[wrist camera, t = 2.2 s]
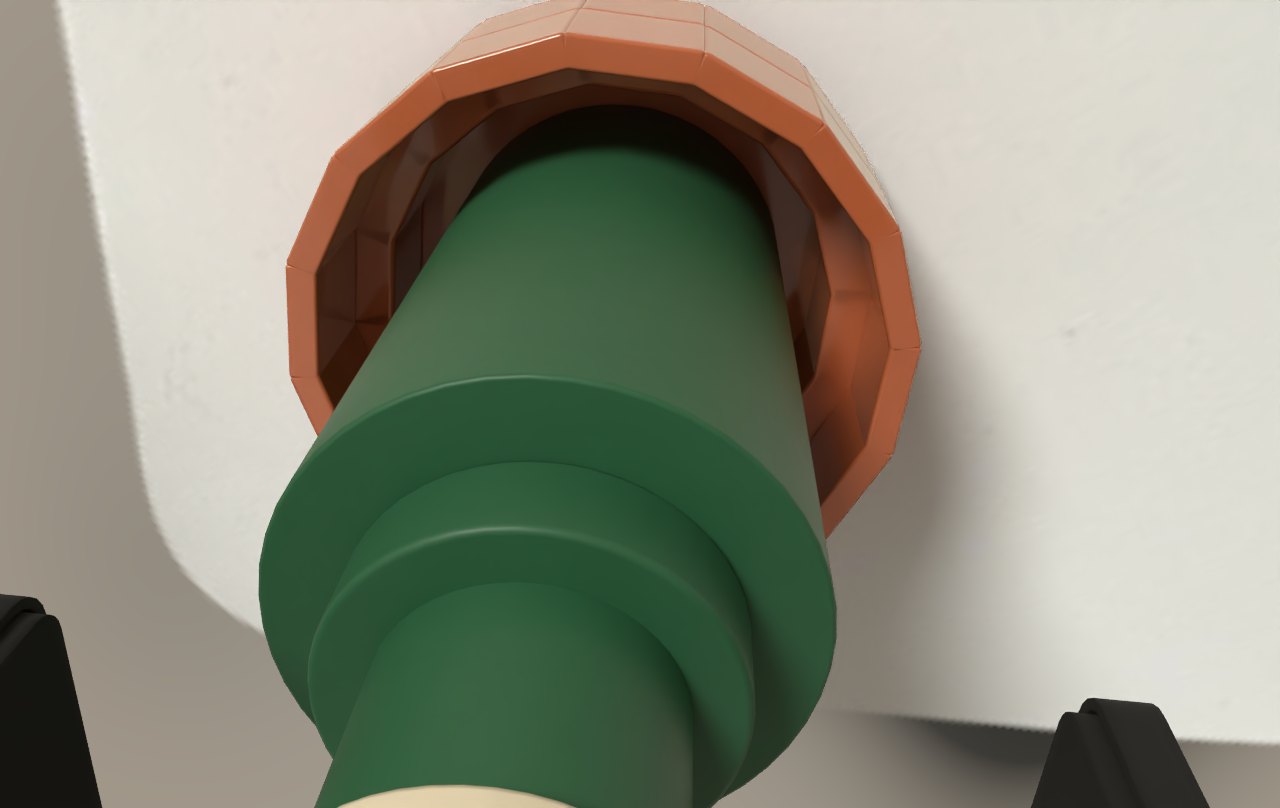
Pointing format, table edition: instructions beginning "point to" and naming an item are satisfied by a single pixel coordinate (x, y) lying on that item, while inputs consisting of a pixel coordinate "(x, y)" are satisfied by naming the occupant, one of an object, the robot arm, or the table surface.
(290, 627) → the bottle
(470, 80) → the bowl
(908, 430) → the table surface
